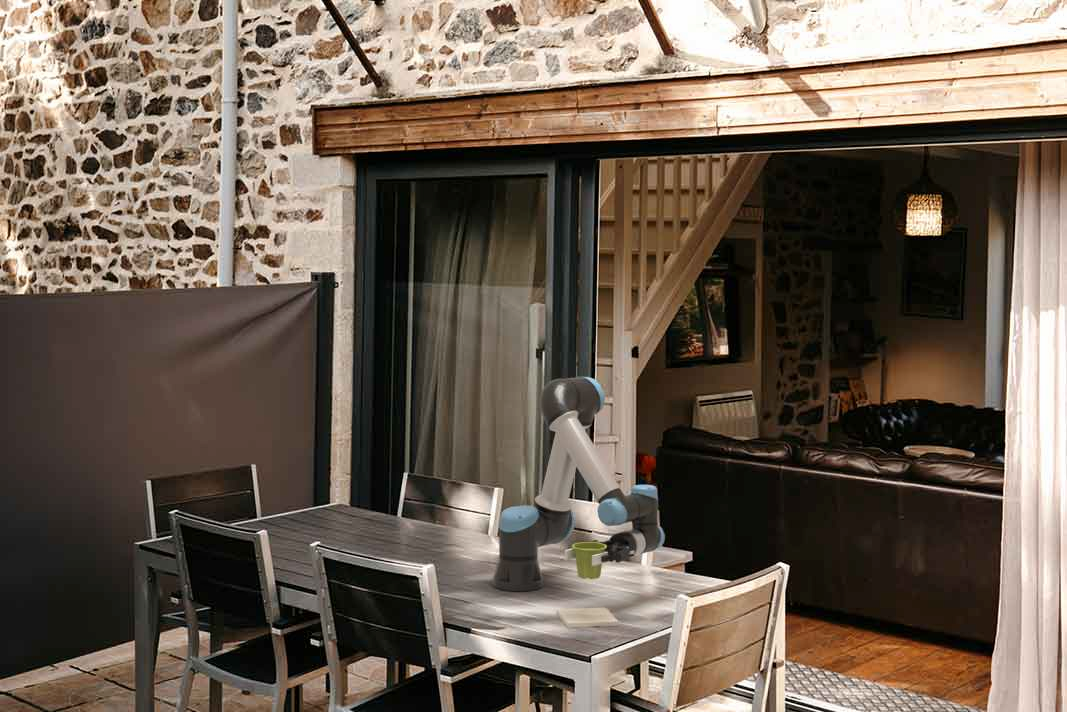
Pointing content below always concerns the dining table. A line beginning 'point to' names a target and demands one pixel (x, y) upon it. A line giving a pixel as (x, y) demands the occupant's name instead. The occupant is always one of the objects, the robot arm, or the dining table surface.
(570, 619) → the tile
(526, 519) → the robot arm
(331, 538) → the dining table surface
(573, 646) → the dining table surface
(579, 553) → the plant pot
